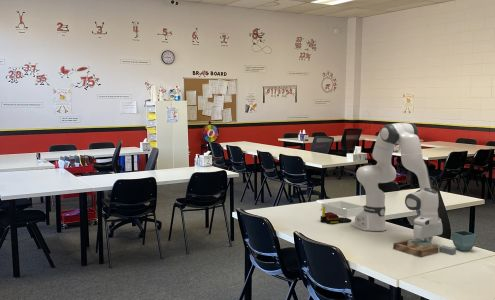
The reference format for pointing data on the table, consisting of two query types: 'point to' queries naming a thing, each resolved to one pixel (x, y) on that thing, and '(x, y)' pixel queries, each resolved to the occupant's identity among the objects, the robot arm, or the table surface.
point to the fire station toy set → (332, 218)
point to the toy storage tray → (338, 208)
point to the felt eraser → (447, 250)
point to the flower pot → (463, 240)
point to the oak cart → (419, 244)
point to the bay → (420, 253)
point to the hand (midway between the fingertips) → (427, 244)
